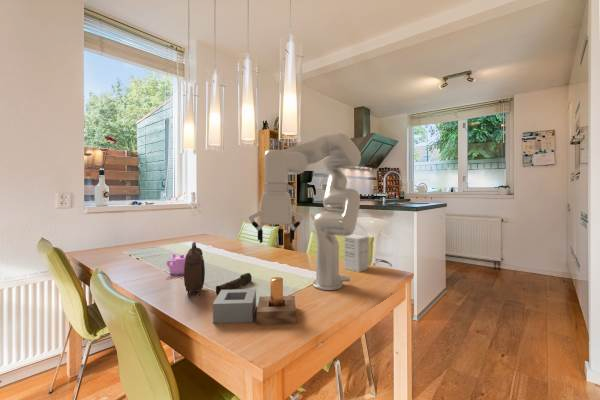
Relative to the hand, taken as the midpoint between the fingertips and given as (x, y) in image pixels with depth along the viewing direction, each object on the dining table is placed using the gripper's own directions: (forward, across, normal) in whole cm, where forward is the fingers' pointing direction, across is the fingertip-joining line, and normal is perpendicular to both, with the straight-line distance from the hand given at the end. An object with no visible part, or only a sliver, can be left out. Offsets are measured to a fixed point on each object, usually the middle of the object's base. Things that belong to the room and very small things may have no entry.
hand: (276, 242), depth 90 cm
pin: (+24, 0, 0) cm, 24 cm away
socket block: (+24, +13, -2) cm, 28 cm away
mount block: (+24, 0, 0) cm, 24 cm away
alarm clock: (+24, +33, -23) cm, 47 cm away
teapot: (+24, +48, -51) cm, 74 cm away
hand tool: (+24, +18, -27) cm, 41 cm away
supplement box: (+24, -40, -51) cm, 69 cm away
